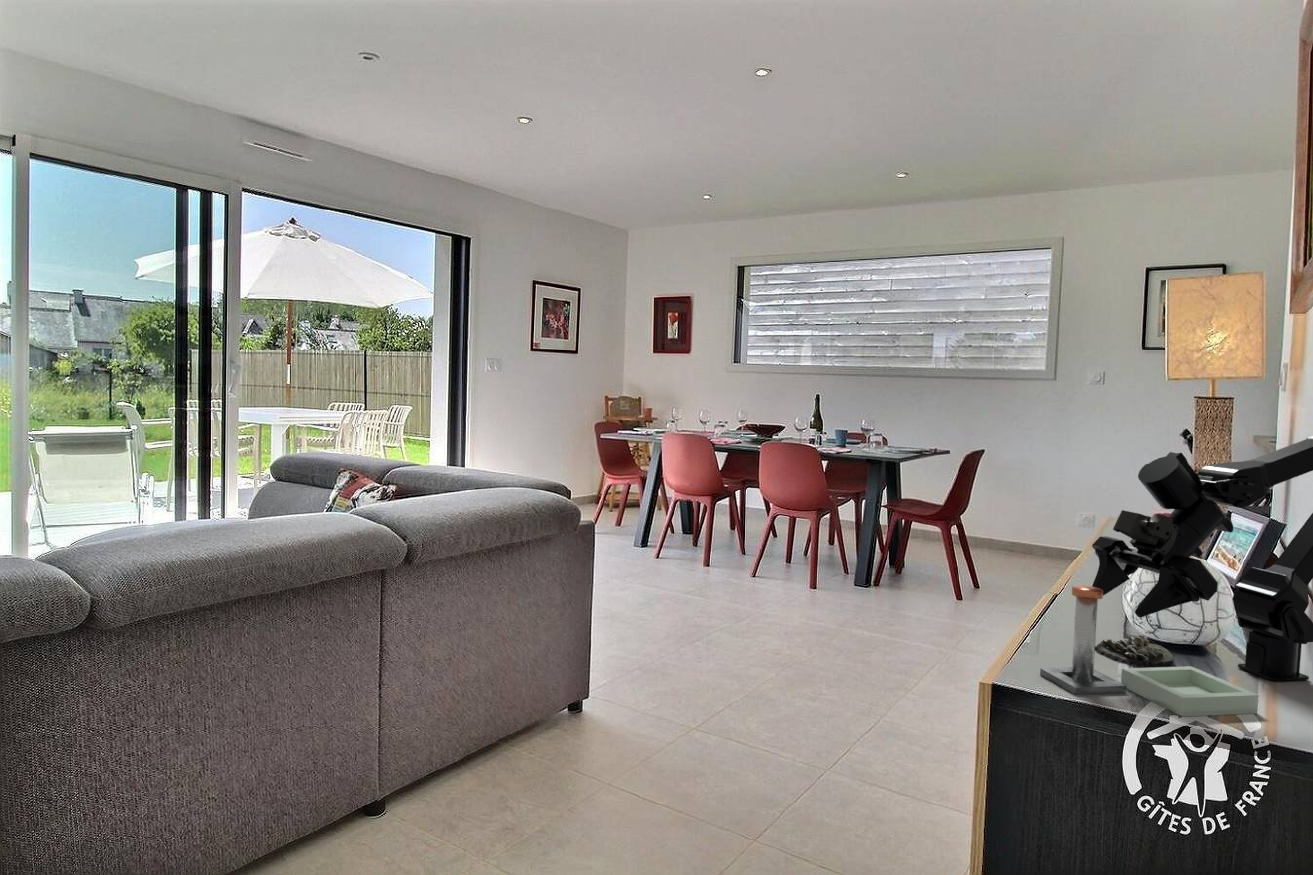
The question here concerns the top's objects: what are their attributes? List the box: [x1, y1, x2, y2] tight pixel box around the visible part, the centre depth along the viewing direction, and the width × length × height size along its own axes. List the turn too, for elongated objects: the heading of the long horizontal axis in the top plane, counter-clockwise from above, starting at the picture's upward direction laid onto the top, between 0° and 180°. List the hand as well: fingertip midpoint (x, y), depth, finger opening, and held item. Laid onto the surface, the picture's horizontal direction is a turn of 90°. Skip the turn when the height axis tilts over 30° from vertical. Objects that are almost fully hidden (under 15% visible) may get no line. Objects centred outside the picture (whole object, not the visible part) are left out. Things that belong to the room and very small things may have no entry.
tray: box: [1120, 665, 1260, 718], centre depth 116 cm, size 11×11×2 cm
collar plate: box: [1039, 666, 1127, 695], centre depth 122 cm, size 8×8×1 cm
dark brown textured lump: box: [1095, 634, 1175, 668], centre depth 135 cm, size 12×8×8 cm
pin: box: [1071, 585, 1104, 682], centre depth 121 cm, size 4×4×14 cm
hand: (1113, 606), depth 122 cm, fingers open, 9 cm apart
